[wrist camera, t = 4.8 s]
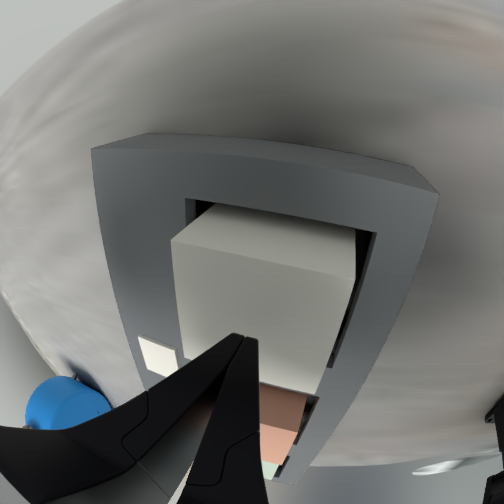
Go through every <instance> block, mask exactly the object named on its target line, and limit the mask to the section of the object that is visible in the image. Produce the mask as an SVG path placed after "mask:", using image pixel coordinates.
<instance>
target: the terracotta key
mask: <svg viewBox="0 0 504 504" xmlns="http://www.w3.org/2000/svg"><path fill="white" fill-rule="evenodd" d="M307 395H308V394H304V393H299V392H295V391H290V390H286V389H282V388H278V387H274V386H270V385H266V384H263V383H259V396H260V447H261V460H262V461H266V462H270V463H274V464H278V465H282V464H283V462H284V460H285V458H286V456H287V454H288V452H289V450H290V448H291V446H292V444H293V442H294V440H295V438H296V435H297V433H298V430H299V426H300V423H301V419H302V415H303V411H304V407H305V403H306V399H307Z"/></svg>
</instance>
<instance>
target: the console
mask: <svg viewBox="0 0 504 504" xmlns="http://www.w3.org/2000/svg"><path fill="white" fill-rule="evenodd" d="M91 158H92V169H93V179H94V187H95V195H96V203H97V210H98V216H99V222H100V228H101V234H102V239H103V245H104V250H105V255H106V260H107V264H108V269H109V273H110V278H111V282H112V286H113V290H114V294H115V298H116V302H117V305H118V309H119V313H120V316H121V320H122V323H123V327H124V330H125V333H126V336H127V340H128V343H129V346H130V349H131V352H132V355H133V358H134V361H135V364H136V367H137V369H138V372H139V375H140V378H141V380H142V383H143V386H144V388H145V391H148V389H149V388H151V387H152V386H154V385H155V384H157V383H159V382H160V381H162V380H163V379H165V378H166V377H168V376H169V375H171V374H172V373H174V372H175V371H177V370H178V369H180V368H181V367H183V366H184V365H186V364H187V363H189V362H190V361H192V360H190V359H187V358H184V352H183V345H182V338H181V331H180V324H179V317H178V309H177V301H176V292H175V283H174V273H173V263H172V252H171V239H172V238H174V237H175V236H176V235H177V234H178V233H180V232H181V231H182V230H183V229H184V228H186V227H187V226H188V225H189V224H191V223H192V222H193V221H194V220H195V219H196V212H195V199H197V200H203V201H210V202H216V203H222V204H229V205H235V206H241V207H247V208H253V209H259V210H264V211H270V212H276V213H281V214H287V215H292V216H297V217H303V218H308V219H313V220H318V221H323V222H328V223H333V224H338V225H343V226H348V227H353V228H358V229H362V230H367V231H372V236H371V240H370V244H369V247H368V251H367V255H366V258H365V262H364V266H363V269H362V272H361V276H360V279H359V283H358V286H357V289H356V292H355V295H354V299H353V302H352V305H351V308H350V311H349V314H348V317H347V320H346V323H345V325H344V328H343V331H342V334H341V337H340V339H339V342H338V345H337V348H336V350H335V353H334V356H333V355H330V357H329V360H328V362H327V365H326V368H325V370H324V373H323V375H322V378H321V380H320V383H319V385H318V388H317V390H316V393H315V394H311V393H306V392H302V391H297V390H293V389H289V388H284V387H280V386H276V385H272V384H268V383H265V382H261V381H259V383H263V384H266V385H270V386H274V387H278V388H282V389H286V390H290V391H295V392H299V393H304V394H308V395H313V396H317V397H316V399H315V402H314V404H313V406H312V408H311V411H310V413H309V415H308V417H307V419H306V422H305V424H304V426H303V428H302V430H301V432H300V434H299V436H298V435H296V438H295V440H294V442H293V444H292V446H291V448H290V450H289V452H288V454H287V456H286V458H285V460H284V462H283V464H282V465H279V466H278V468H277V470H276V472H275V474H274V476H273V478H272V480H270V481H275V482H279V483H283V484H288V485H294V484H295V482H296V481H297V480H298V479H299V478H300V476H301V475H302V474H303V473H304V471H305V470H306V469H307V468H308V466H309V465H310V464H311V462H312V461H313V460H314V458H315V457H316V456H317V454H318V453H319V452H320V450H321V449H322V447H323V446H324V445H325V443H326V442H327V440H328V439H329V437H330V436H331V434H332V433H333V432H334V430H335V429H336V427H337V426H338V424H339V422H340V421H341V419H342V418H343V416H344V415H345V413H346V412H347V410H348V408H349V407H350V405H351V403H352V402H353V400H354V398H355V397H356V395H357V393H358V392H359V390H360V388H361V387H362V385H363V383H364V381H365V380H366V378H367V376H368V374H369V372H370V370H371V369H372V367H373V365H374V363H375V361H376V359H377V357H378V355H379V353H380V351H381V349H382V347H383V345H384V343H385V341H386V339H387V337H388V335H389V333H390V331H391V329H392V327H393V324H394V322H395V320H396V318H397V316H398V313H399V311H400V309H401V306H402V304H403V302H404V299H405V297H406V295H407V292H408V290H409V287H410V285H411V282H412V279H413V277H414V274H415V272H416V269H417V266H418V263H419V261H420V258H421V255H422V252H423V249H424V246H425V243H426V240H427V237H428V234H429V230H430V227H431V224H432V220H433V217H434V214H435V210H436V206H437V203H438V199H439V195H440V194H439V193H438V192H437V191H436V190H435V189H434V188H433V187H432V186H431V185H430V184H429V183H428V182H427V180H426V179H425V178H424V177H423V176H422V175H421V174H419V173H418V172H417V171H416V170H415V169H414V168H413V167H409V166H405V165H401V164H397V163H393V162H389V161H385V160H380V159H376V158H371V157H367V156H362V155H357V154H352V153H347V152H341V151H336V150H330V149H325V148H319V147H312V146H306V145H299V144H292V143H284V142H276V141H268V140H259V139H249V138H238V137H225V136H210V135H190V134H142V135H138V136H134V137H130V138H126V139H123V140H119V141H115V142H112V143H108V144H105V145H101V146H98V147H95V148H91ZM264 479H265V478H264ZM266 480H269V479H266Z"/></svg>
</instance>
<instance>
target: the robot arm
mask: <svg viewBox="0 0 504 504" xmlns="http://www.w3.org/2000/svg"><path fill="white" fill-rule="evenodd" d="M485 423H495V425H496V431H497V438H498V445H499V451H500V452H502V460H503V468H504V398H503V399H502V400H501V402H500V403H499V404H498V405H497V406H496V407H495V408H494V409H493V410H492V411H491V412H490V413H489V414H488V415H487V416H486V417H485ZM193 461H194V462H193ZM192 462H193V465H192V467H191V470H190V473H189V475H188V478H187V481H186V485H185V487H184V489H183V491H182V494H181V496H180V498H179V500H178V502H177V504H269V502H268V497H267V492H266V487H265V481H264V476H263V469H262V462H261V447H260V396H259V341H258V339H256V338H252V337H249V336H246V337H245V336H244V335H241V334H238V333H231V334H229V335H228V336H226V337H225V338H224V339H222V340H221V341H219V342H218V343H216V344H215V345H214V346H212V347H211V348H209V349H208V350H206V351H205V352H203V353H202V354H200V355H199V356H198V357H196V358H195V359H193V360H192V361H190V362H189V363H187V364H186V365H184V366H183V367H181V368H180V369H178V370H177V371H175V372H174V373H172V374H171V375H169V376H168V377H166V378H165V379H163V380H162V381H160V382H159V383H157V384H155V385H154V386H152V387H151V388H149V389H148V391H144V392H143V393H141V394H140V395H138V396H136V397H135V398H133V399H131V400H130V401H128V402H126V403H124V404H123V405H121V406H118V407H116V408H114V409H112V410H110V411H108V412H106V413H104V414H102V415H99V416H97V417H95V418H92V419H90V420H88V421H85V422H83V423H81V424H78V425H76V426H73V427H70V428H65V429H58V430H48V429H28V428H14V427H6V426H0V504H168V502H169V501H170V498H171V497H172V496H173V494H174V492H175V491H176V489H177V488H178V486H179V484H180V482H181V481H182V479H183V478H184V476H185V474H186V473H187V471H188V469H189V468H190V466H191V464H192ZM483 504H504V470H503V471H501V472H500V473H498V474H496V475H492V476H490V477H488V478H487V483H486V488H485V493H484V499H483Z"/></svg>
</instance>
